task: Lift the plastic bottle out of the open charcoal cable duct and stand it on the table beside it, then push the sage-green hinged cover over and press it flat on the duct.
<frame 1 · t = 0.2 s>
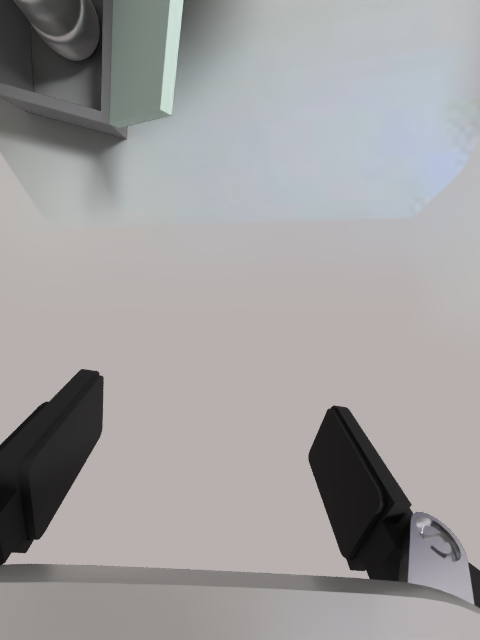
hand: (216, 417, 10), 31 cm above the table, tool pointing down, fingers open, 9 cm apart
cable duct: (77, 31, 28), on the table
plastic bottle: (78, 33, 28), resting in cable duct
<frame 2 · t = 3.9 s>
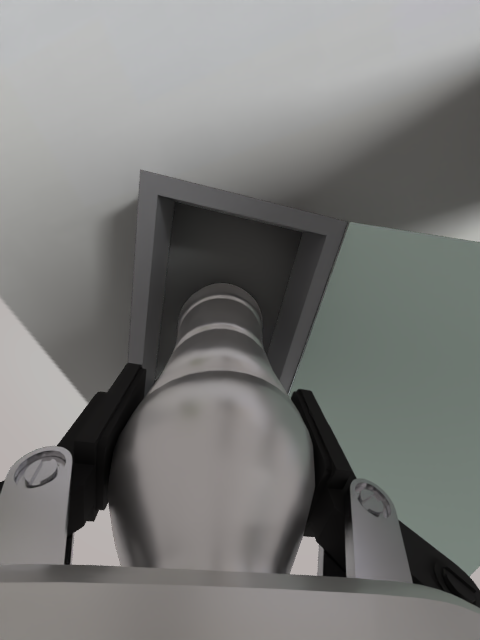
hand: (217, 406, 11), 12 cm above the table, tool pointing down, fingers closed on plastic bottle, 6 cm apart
cable duct: (221, 313, 22), on the table
duct cover: (394, 403, 14), point 9 cm above the table, hinge at 130.0°
plastic bottle: (221, 313, 22), resting in cable duct, touching gripper
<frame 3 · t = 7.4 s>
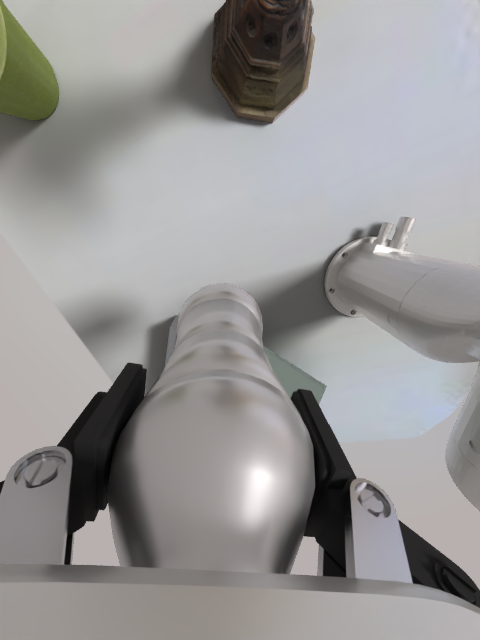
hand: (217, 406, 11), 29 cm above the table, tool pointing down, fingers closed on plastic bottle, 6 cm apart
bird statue: (249, 86, 30), on the table
cable duct: (203, 368, 44), on the table
duct cover: (268, 414, 36), point 9 cm above the table, hinge at 130.0°
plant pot: (29, 85, 29), on the table
plastic bottle: (221, 313, 22), point 17 cm above the table, touching gripper
when the fingers open (13 cm above the table, at t = 10.8 s): plastic bottle drops 1 cm, on the table.
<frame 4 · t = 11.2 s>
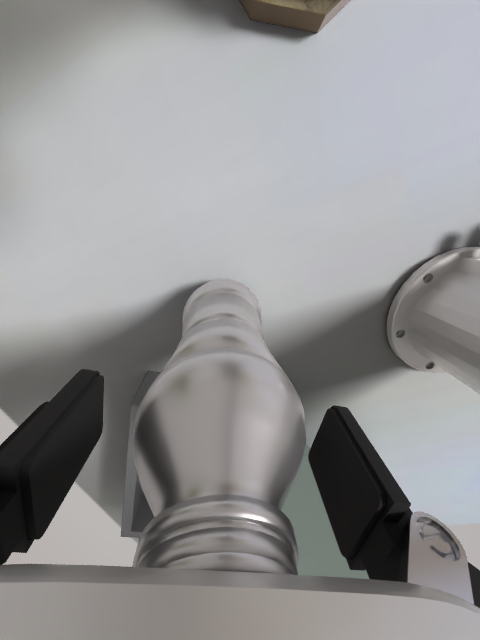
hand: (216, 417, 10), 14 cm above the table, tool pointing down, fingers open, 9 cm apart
cable duct: (194, 443, 29), on the table
duct cover: (298, 547, 22), point 9 cm above the table, hinge at 130.0°
plastic bottle: (222, 307, 23), on the table
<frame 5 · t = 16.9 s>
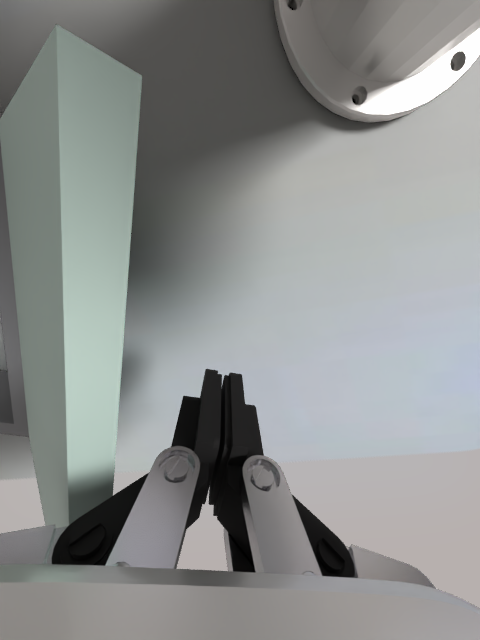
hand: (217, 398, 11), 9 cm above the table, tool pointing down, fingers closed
duct cover: (49, 375, 10), point 9 cm above the table, hinge at 130.0°, touching gripper
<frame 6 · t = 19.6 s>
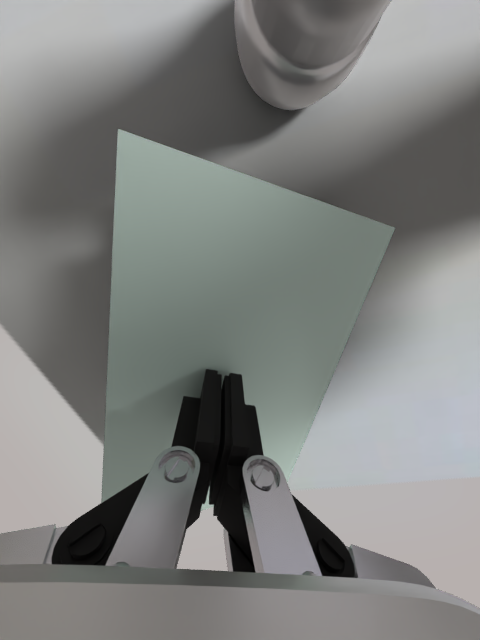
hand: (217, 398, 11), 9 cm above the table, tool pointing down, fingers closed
duct cover: (239, 384, 13), point 8 cm above the table, hinge at 21.1°, touching gripper
plastic bottle: (289, 53, 14), on the table
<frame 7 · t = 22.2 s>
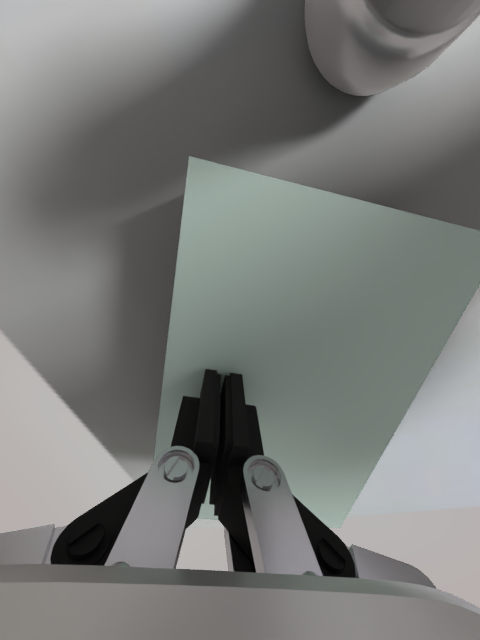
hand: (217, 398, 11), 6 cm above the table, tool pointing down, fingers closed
duct cover: (287, 397, 12), point 6 cm above the table, hinge at 0.4°, touching gripper
plastic bottle: (360, 27, 12), on the table
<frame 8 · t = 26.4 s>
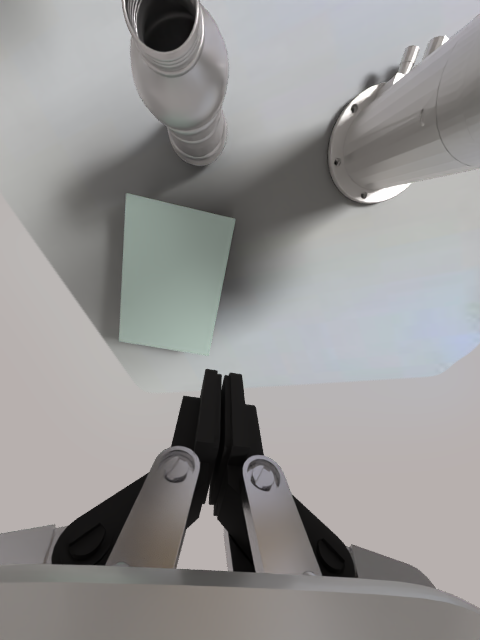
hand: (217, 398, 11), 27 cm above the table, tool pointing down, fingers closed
duct cover: (173, 284, 31), point 6 cm above the table, hinge at -0.1°
plastic bottle: (200, 139, 30), on the table
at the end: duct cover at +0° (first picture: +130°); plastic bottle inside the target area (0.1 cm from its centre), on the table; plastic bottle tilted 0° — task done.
